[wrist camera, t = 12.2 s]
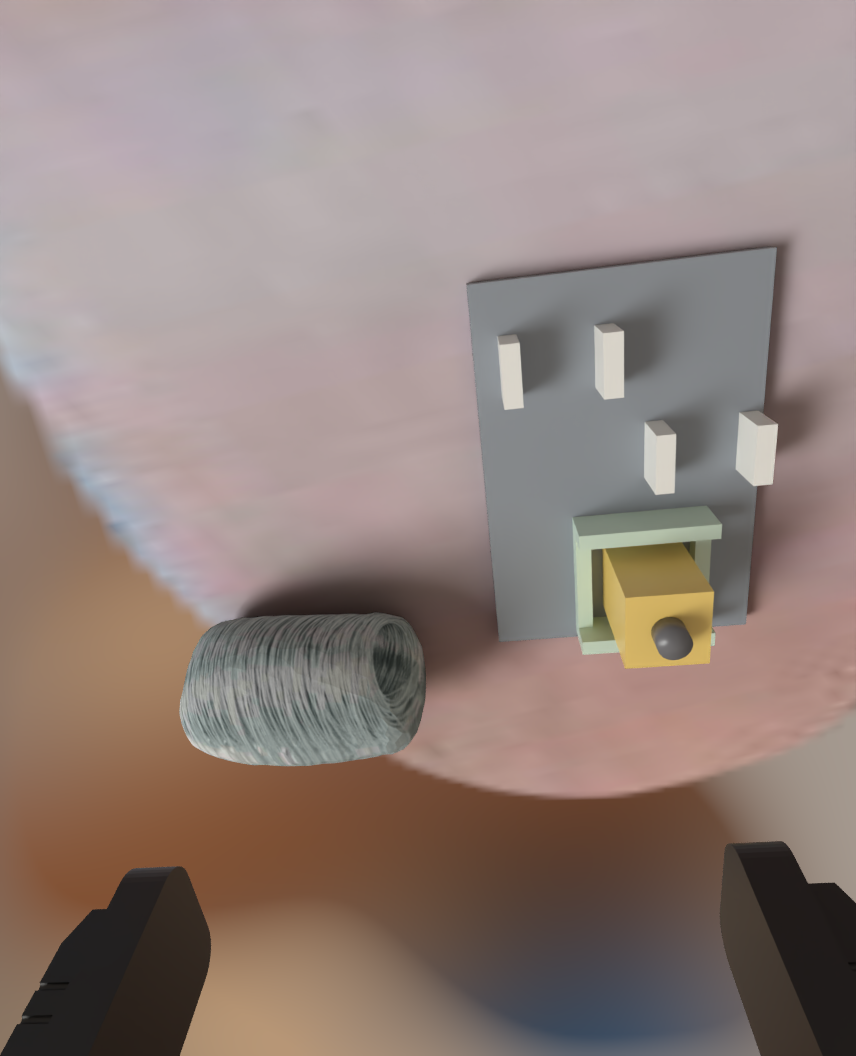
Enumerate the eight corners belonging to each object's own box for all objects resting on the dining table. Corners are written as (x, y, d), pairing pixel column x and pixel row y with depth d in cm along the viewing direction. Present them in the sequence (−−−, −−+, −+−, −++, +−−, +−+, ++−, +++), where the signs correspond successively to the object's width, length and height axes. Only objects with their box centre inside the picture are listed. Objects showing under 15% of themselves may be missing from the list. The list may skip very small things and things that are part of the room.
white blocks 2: (644, 421, 35) (656, 435, 32) (758, 410, 34) (778, 423, 32) (643, 477, 36) (655, 495, 34) (753, 467, 35) (772, 484, 33)
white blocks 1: (497, 336, 33) (499, 345, 31) (613, 323, 33) (623, 331, 31) (502, 397, 34) (504, 410, 32) (613, 385, 34) (623, 397, 32)
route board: (466, 283, 33) (466, 284, 32) (769, 246, 32) (776, 247, 31) (498, 634, 41) (499, 641, 41) (740, 616, 40) (745, 624, 39)
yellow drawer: (602, 541, 37) (631, 611, 31) (677, 535, 37) (723, 605, 31) (602, 604, 39) (630, 684, 33) (675, 599, 39) (717, 678, 32)
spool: (439, 586, 36) (379, 770, 31) (451, 669, 44) (405, 830, 38) (211, 543, 40) (118, 702, 34) (259, 627, 47) (189, 769, 41)
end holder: (572, 517, 37) (578, 536, 35) (706, 505, 36) (721, 524, 34) (576, 630, 40) (582, 654, 38) (700, 621, 39) (714, 645, 37)
